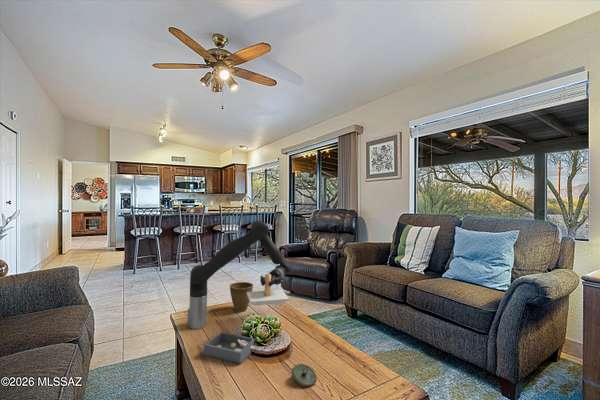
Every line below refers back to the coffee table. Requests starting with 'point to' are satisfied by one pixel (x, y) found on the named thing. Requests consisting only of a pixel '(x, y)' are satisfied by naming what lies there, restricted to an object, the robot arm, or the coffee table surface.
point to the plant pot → (240, 295)
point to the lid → (304, 375)
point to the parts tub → (228, 348)
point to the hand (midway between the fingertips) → (266, 284)
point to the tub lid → (267, 295)
